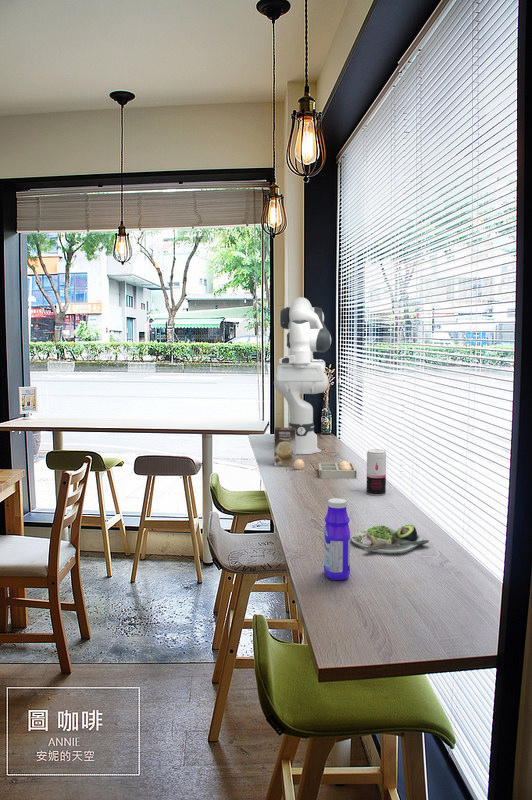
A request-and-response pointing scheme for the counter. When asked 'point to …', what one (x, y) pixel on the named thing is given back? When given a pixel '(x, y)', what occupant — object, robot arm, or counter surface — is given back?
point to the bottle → (337, 541)
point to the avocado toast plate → (389, 539)
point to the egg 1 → (298, 464)
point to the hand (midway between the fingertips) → (300, 393)
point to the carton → (336, 471)
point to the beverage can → (376, 472)
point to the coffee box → (285, 447)
